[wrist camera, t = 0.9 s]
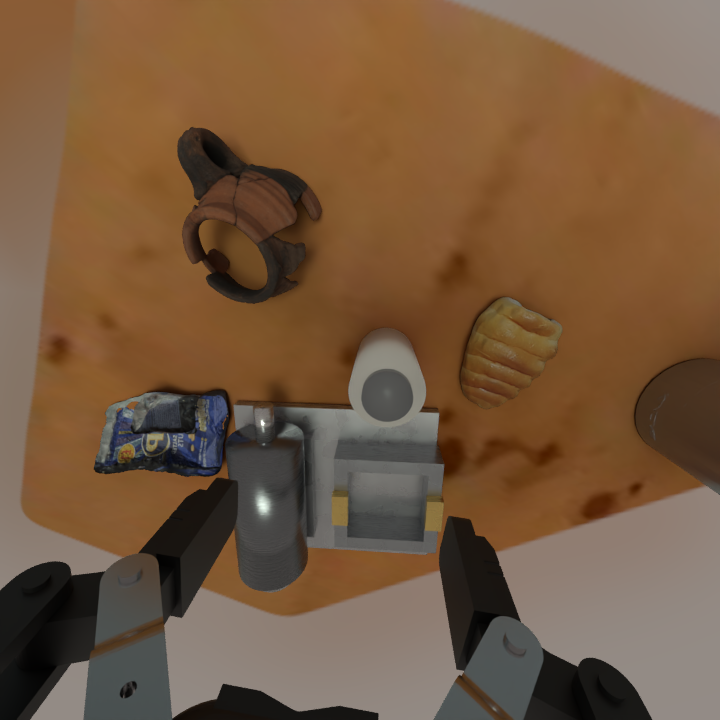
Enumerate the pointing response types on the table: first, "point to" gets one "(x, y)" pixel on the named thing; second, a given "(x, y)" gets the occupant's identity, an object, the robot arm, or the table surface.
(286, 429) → the motor unit
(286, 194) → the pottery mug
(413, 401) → the white cylinder roll
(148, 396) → the snack package
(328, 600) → the table surface
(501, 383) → the pastry
